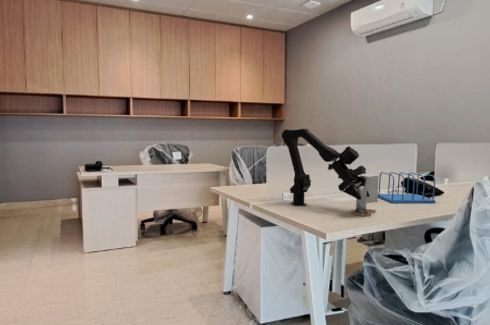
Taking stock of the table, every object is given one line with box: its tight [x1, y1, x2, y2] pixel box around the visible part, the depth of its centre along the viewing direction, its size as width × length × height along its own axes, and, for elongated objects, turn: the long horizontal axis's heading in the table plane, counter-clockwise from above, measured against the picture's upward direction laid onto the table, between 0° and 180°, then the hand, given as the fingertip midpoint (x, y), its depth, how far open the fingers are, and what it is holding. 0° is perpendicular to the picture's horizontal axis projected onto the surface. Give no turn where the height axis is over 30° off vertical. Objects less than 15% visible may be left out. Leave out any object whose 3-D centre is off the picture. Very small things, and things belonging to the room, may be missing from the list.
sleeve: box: [355, 185, 368, 214], centre depth 158 cm, size 4×4×13 cm
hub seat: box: [350, 209, 372, 218], centre depth 159 cm, size 11×11×2 cm
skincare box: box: [359, 173, 380, 203], centre depth 189 cm, size 8×6×15 cm
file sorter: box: [377, 171, 436, 204], centre depth 196 cm, size 25×17×15 cm
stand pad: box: [366, 208, 377, 215], centre depth 166 cm, size 8×8×1 cm
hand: (364, 197), depth 157 cm, fingers open, 9 cm apart
